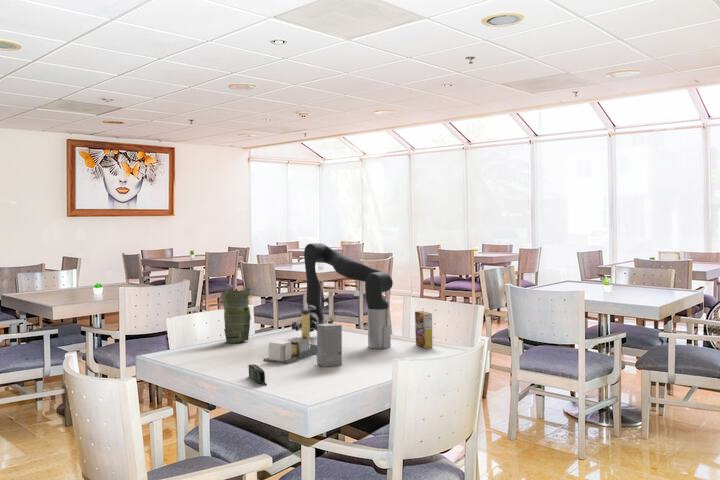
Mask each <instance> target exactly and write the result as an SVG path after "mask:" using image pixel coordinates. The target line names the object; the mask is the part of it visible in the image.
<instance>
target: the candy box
mask: <svg viewBox="0 0 720 480" xmlns="http://www.w3.org/2000/svg"><path fill="white" fill-rule="evenodd" d="M414 323H415V325H414V327H415V330H414V331H415V332H414V333H415V345H416V346H419V347H421V348H423V349H431V348H433V313H430V312H427V311H424V310H416V311H414Z"/></svg>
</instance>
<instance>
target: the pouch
mask: <svg viewBox="0 0 720 480" xmlns="http://www.w3.org/2000/svg"><path fill="white" fill-rule="evenodd" d="M251 291H252V288H246V289H240V290H238V288H236V289H234V290H232V289H224V290H222V291H220V293H221V295H220V300H221V302H222V305H223V310H224V313H223V315H224V317H223V318H224V330H223V331H224V336H225V342H226V343H231V344H238V343H243V342H245V341H246V342H247V341H249V335H250V330H251V329H250V328H251V327H250V326H251V320H252V319H251V318H252V316H251V308H250V306H249V296H250V292H251Z"/></svg>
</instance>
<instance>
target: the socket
mask: <svg viewBox="0 0 720 480" xmlns="http://www.w3.org/2000/svg"><path fill="white" fill-rule="evenodd" d="M268 357H269V359H271V360H279V361H285V360H288V359H291V342H290V341H288V340H279V339H276V340H273V341H269V342H268Z"/></svg>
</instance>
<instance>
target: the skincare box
mask: <svg viewBox="0 0 720 480" xmlns="http://www.w3.org/2000/svg"><path fill="white" fill-rule="evenodd" d="M342 326H343V325H342V324H338V323H324V324H317V331H316V345H317V354H316V363H317V365H319V366H321V367H322V368H326V367H334V366H341V365H342V364H343V358H342V357H343V356H342V355H343V354H342V353H343V347H342V345H343V343H342V342H343V333H342V331H343V329H342V328H343V327H342Z"/></svg>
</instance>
